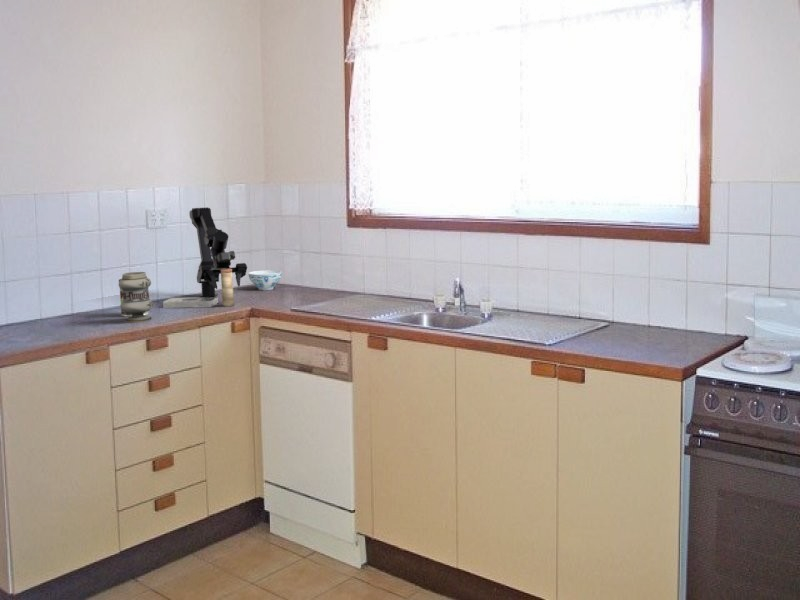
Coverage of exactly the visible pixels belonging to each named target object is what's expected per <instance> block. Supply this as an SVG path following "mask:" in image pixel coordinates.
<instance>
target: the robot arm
mask: <svg viewBox="0 0 800 600" xmlns="http://www.w3.org/2000/svg"><path fill="white" fill-rule="evenodd" d="M189 218H190V221H191V224H192V225H193V227H195V229H196V233H197V239H198V240H197V242H198V247H199V254H200V263H199V265H198V270H197V272H196V273H197V274H196V282H197V283H198V284H201V285H200V287H201V294H200V295H199V298H202V297H217V296H218V295H219V294H218V293H216V290H217V289H218V284H217V283H219V282H220V275H221V269H232V274H234V275H235V280H236V284H237V287H238V288H240V287H241V279H242V278H243V277H245V276H246V275H247V270H248V265H247V264H246V263H245V262H240V263H236V264H235V266H234V267H230V266H232V265H231V264H232V263H231V262H232V260H233V261H234V260H235V259H236V254H235V251H234V250H230V251H227V252H226V250H225V249H227V245H228V241H229V234H228V233H226V232H225V231H223V230H222V229H218V228H217V227H216V224H215V222H214V218H213V216H212V209H211V208H210V207H192V209H191V210H189Z"/></svg>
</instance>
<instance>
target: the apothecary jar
mask: <svg viewBox="0 0 800 600" xmlns="http://www.w3.org/2000/svg"><path fill="white" fill-rule="evenodd" d="M146 273H147V272H146V271H130V272H124V273H123V274H122V277H121V278H120V279H121V280H120V281H119V280H118V287H119V289H120V288H121V289H122V291H123V302H122V303H121V302H120V306H119V308H120V310H121V309H122V310H123V311H124V312H126V313H130V314H132V316H131V317H126V318H125V319H124V322H125V323H143V322H149V321H151V320H152V317H151V316H149V315H143V314H144V313H145V312H147V311H148V312H149V311H151V310H152V308H153V307H154V301H153V300H152V299H151V298H150V292H149V291H150V290H149V287H150V286H151V285H152V281H151V279H150V278H149V277H147V274H146Z"/></svg>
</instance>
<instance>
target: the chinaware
mask: <svg viewBox="0 0 800 600" xmlns="http://www.w3.org/2000/svg"><path fill="white" fill-rule="evenodd" d="M282 273H283V271H281V270H275V269H274V270H273V269H270V270H266V269H265V270H256V271H255V270H254V271H250V272H248V277H249V280H250V282H251V283H252V284H253V286H255V287H256V288H258V290H259V291H270V290H274V287H275V286H277V285H278V284H279V282H280V280H281V277H282Z"/></svg>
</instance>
